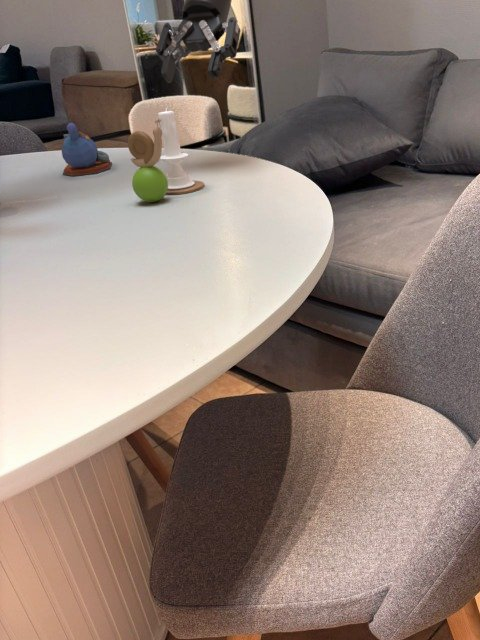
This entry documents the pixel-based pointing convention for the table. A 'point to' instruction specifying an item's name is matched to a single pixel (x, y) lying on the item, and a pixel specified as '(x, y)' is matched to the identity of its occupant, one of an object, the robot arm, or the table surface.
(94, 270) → the table surface
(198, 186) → the coaster
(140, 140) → the snail figurine
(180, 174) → the candle
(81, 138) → the model
